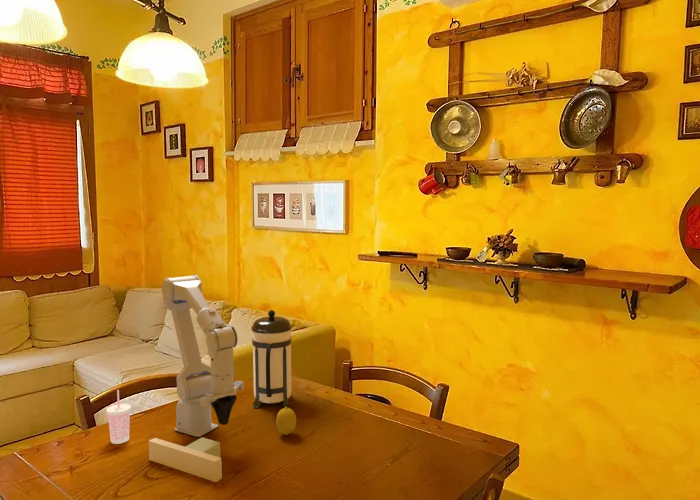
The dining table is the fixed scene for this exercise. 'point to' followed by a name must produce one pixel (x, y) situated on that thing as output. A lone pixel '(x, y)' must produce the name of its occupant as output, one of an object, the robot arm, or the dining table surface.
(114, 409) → the beverage cup
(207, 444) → the block
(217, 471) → the board
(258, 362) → the coffee press
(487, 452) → the dining table surface
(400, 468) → the dining table surface
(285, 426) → the lemon
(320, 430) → the dining table surface
